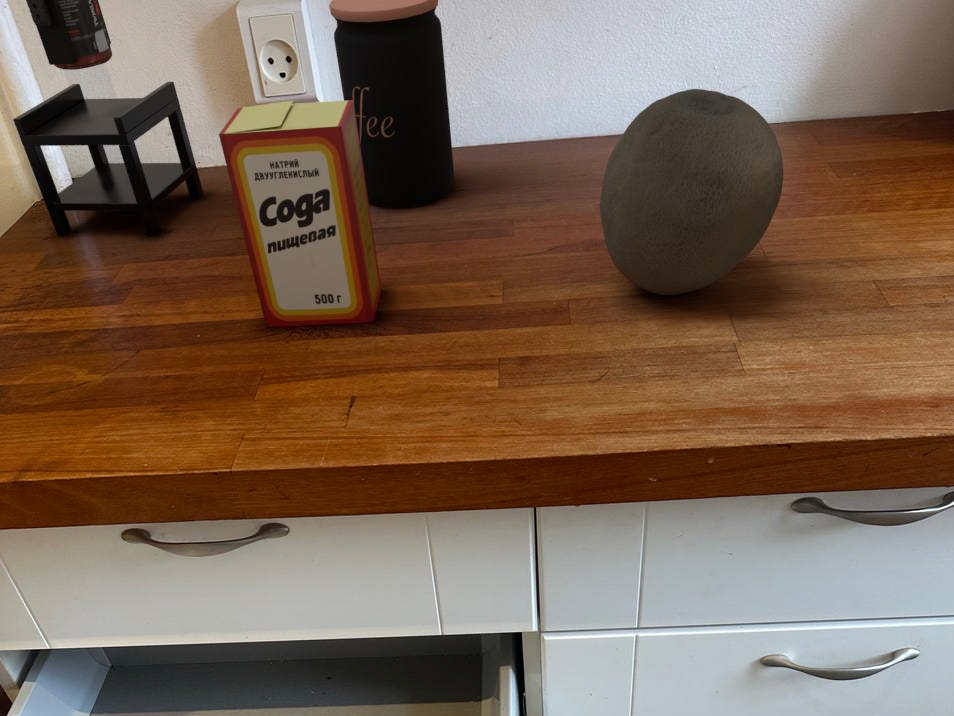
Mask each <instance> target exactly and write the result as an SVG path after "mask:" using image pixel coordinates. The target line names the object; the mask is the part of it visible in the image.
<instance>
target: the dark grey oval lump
mask: <svg viewBox="0 0 954 716" xmlns="http://www.w3.org/2000/svg"><path fill="white" fill-rule="evenodd" d="M783 184H784V162H783V155H782V151H781V147H780V144H779V141H778V139H777V136H776V134H775V132H774V130H773V128H772V127H771V125H770V124H769V122H768V121H767V120H766V118H765V117H764V116H763V115H761V113H760V112H759V111H757V110H756V109H755V107H753V106H751V105H750V104H749V103H747V102H746V101H744V100H743V99H742V98H741V99H740V98H738V97H736V96H732V95H728V94H725V93H724V92H720V91H716V90H706V89H701V88H700V89H699V88H690V89H686V90H682V91H677V92H674V93H672V94H669V95H667V96H665V97H663V98H660V99H656V100H655V101H654V102H652V103H651V104H649V105H648V106H646V108H644V109H643V110H642V111H640V112H639V113H638V114H637V115H636V116H635V117H634V119H633V120H632V121H631V122H630V123H629V125H628V126H627V127H626V129H625V130H624V132H623V134H622V135H621V136H620V138H619V139H618V141H617V142H616V144H615V146H614V147H613V149H612V150H611V153H610V156H609V157H608V159H607V163H606V168H605V172H604V176H603V179H602V184H601V194H600V199H599V215H600V220H601V226H602V231H603V237H604V242H605V246H606V248H607V249H606V250H607V252H608V255H609V257H610V259H611V261H612V263H613V266H614V267H615V268H616V269H617V271H618V272H619V273H620V274H621V275H622V276H623V277H624V278H626V279H627V280H628V281H630V282H631V283H632V284H633V285H636V286H637V287H639V288H641V289H642V290H644V291H647V292H649V293H652V294H655V295H660V296H675V295H676V296H677V295H681V294H687V293H690V292H695V291H698V290H700V289H703V288H705V287H707V286H709V285H711V284H712V283H715V282H717V281H718V280H720V279H722V278H723V277H724V276H726V275H727V274H728V273H729V272H731V271H732V270H733V269H735V268H736V267H737V266H738V265H739V264H740V263H741V262H742V261H743V260H744V259H745V258H746V257H747V256H749V254H750V253H751V252H752V251H753V250H754V249H755V247H756V246H757V245H758V244H759V243H760V241H761V240H762V238H763V237H764V235H765V233H766V231H767V230H768V228H769V226H770V224H771V222H772V219H773V217H774V215H775V212H776V210H777V208H778V205H779V203H780V199H781V195H782V191H783Z"/></svg>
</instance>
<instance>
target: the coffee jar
mask: <svg viewBox="0 0 954 716" xmlns="http://www.w3.org/2000/svg"><path fill="white" fill-rule="evenodd" d="M438 5H439V0H330V2H329V4H328V7H329V12H330V15H331V16H332V17H333V18H334V21H336V28H335V30H334V32H333V40H334V46H335V52H336V53H335V54H336V60H337V66H338V72H339V77H340V84H341V85H340V86H341V90H342V97H343V101H347V100H353V103H354V109H355V116H356V123H357V129H358V136H359V142H360V149H361V156H362V162H363V169H364V176H365V182H366V189H367V195H368V202H369V203H371V204H373V205H375V206H380V207H384V208H410V207H416V206H421V205H426V204H428V203H429V204H430V203H431V202H434V201H438V200H439V199H440V198H442V197H444V196H445V195H447V193H448V192H449V191H450V188H451V186H452V184H453V182H454V181H455V167H454V156H453V155H454V154H453V142H452V133H451V122H450V110H449V100H448V99H449V98H448V89H447V78H446V77H447V75H446V66H445V65H446V64H445V54H444V42H443V33H442V30H443V29H442V21H441V19H440V18H439V16H437V14H436V9H437V7H438Z"/></svg>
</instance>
